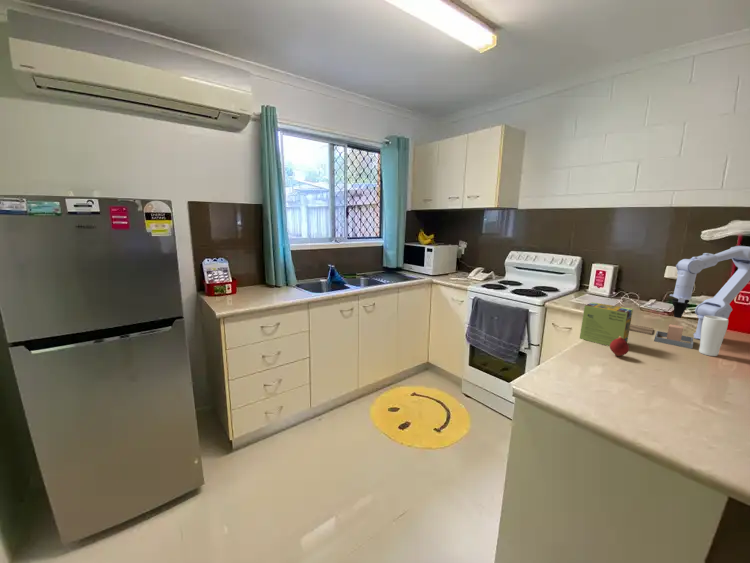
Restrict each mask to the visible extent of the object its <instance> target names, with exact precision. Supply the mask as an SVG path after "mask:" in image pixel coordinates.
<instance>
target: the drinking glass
mask: <svg viewBox="0 0 750 563" xmlns="http://www.w3.org/2000/svg"><path fill="white" fill-rule="evenodd" d="M728 325H729V318H728V319H726V318H722V317H717V316H704V318H703V322H702V327H701V338H700V339H699V348H698V352H699V353H700V354H702V355H705V356H710V357H718V356H719V353H720V349H721V346H722V343H723V341H724V338H725V336H726V333H727V329H728Z"/></svg>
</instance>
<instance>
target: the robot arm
mask: <svg viewBox="0 0 750 563" xmlns="http://www.w3.org/2000/svg"><path fill="white" fill-rule="evenodd" d="M730 259H731V260H732V262H733V264H734V265H735V267H736V268H737V270H736V271H735V272H734V273H733V275H732V276H731V277H730V278H729V279H728V280H727V282H725V284H724V285H723V286H722V287H721V288H720V290H718V292H717V293H716V294H715V295H714V296H713V297H711V298H707V299H704V300H703V301H702V302H701V303H699V304H697V305H696V306H695V309H694V313H695V315H696V316H697V319H698V321H697V325H696V329H695V332H694V333H693V339H696V340H700V338H701V327H702V322H703V318H704V316H717V317H722V318H726V319H728V320H729V318H730V315H731V312H732V311H733V308H732V306H731V305H730V304H731V302H732V301H733V300H735V298H736V297H737V296H738V294H740V292H741V291H742V290H743V289H744V288H745V287H746V286H747V285H748V283H749V282H750V246H746V245H735V246H731V247H730V248H729V249H726V250H723V251H720V252H716V253H715V254H714V253H709V252H704V253H702V255H701V254H700V255H698V256H692V257H691V258H683V259H681V260H679V261H678V262H677V264H675V269H676V271H677V272H676V273H677V274H676V275H677V278H676V281H675V287H674V291H673V294H672V293H671V294H669V297H673V298H672V301H671V302H672V305H673V317H674V318H678V319H681V318H682V316H683V314H684V312H685V310H686V309H687V308H688V307H689V306H690V305H691V304H690V300H691V299H692V295H693V291H694V287H695V286H694V285H695V282H696V279H697V278H696V277H697V274H699V273H701V271H702V270H704V269H708V268H711V267H715V266H716V265H717V264H718V263H719V262H722V261H727V260H730Z"/></svg>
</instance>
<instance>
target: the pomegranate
mask: <svg viewBox="0 0 750 563" xmlns="http://www.w3.org/2000/svg"><path fill="white" fill-rule="evenodd" d="M609 349H610V351H611V352H612V353H613V354H614V355H615V356H616V357H621V356H624V355H626V354H628V353H629V351H630V346H629V344H628V342H626V341H625V340H624V339H623V338H622V337H621V336H619V338H617V339H615V340H613V341H612V342H611V343H610V346H609Z"/></svg>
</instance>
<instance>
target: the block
mask: <svg viewBox="0 0 750 563" xmlns="http://www.w3.org/2000/svg"><path fill="white" fill-rule="evenodd" d="M667 329H668V330H667V333H668V334H667V337H666V339H670V340H675V341H680V342H682V340H681V337H682V336H683V332H684V326H683V325H682V326H681V325H677V324H671V323H670V324H668V328H667Z"/></svg>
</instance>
